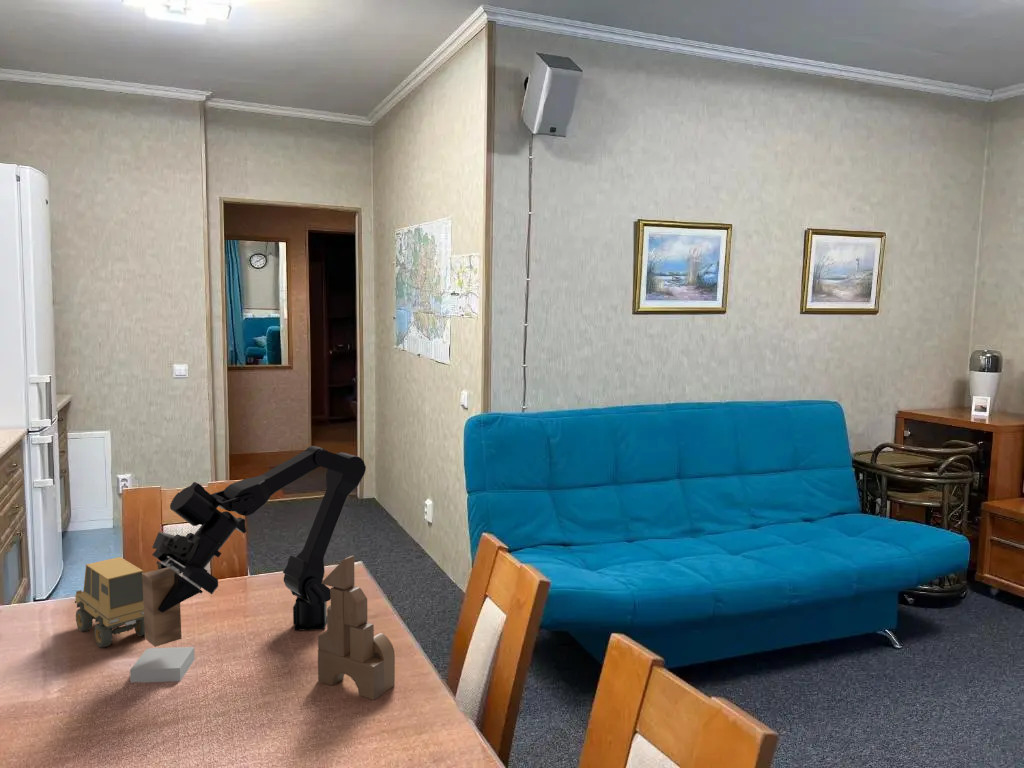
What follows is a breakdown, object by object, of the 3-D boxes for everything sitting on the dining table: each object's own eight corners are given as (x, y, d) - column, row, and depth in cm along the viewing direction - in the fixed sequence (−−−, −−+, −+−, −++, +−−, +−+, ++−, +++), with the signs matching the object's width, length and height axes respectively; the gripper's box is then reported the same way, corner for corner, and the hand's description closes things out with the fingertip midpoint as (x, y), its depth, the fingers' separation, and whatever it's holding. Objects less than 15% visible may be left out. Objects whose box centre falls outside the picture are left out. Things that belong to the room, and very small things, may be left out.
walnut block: (171, 630, 155) (168, 567, 154) (181, 638, 151) (178, 573, 150) (144, 638, 152) (142, 573, 150) (154, 646, 148) (151, 580, 146)
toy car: (121, 613, 179) (119, 549, 177) (156, 639, 166) (154, 570, 165) (72, 626, 172) (69, 560, 170) (105, 654, 159) (102, 583, 157)
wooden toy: (397, 685, 148) (397, 556, 145) (373, 701, 142) (373, 567, 139) (335, 665, 156) (334, 542, 153) (311, 678, 150) (309, 551, 147)
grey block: (194, 661, 157) (194, 646, 157) (180, 683, 148) (180, 668, 148) (147, 662, 156) (147, 648, 156) (130, 684, 147) (130, 669, 147)
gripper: (160, 506, 158) (104, 572, 152) (199, 526, 145) (140, 600, 139) (200, 536, 165) (148, 601, 158) (241, 558, 151) (186, 629, 145)
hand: (154, 607), depth 150 cm, fingers closed on walnut block, 5 cm apart
